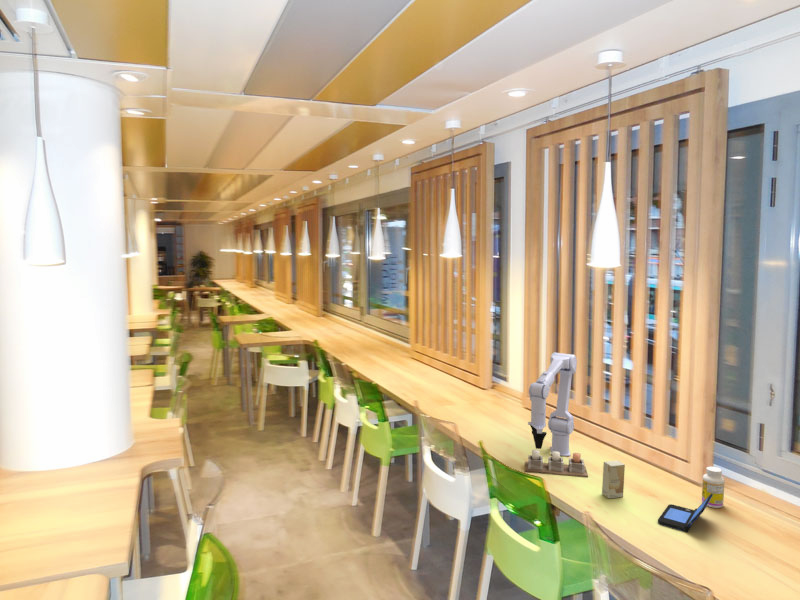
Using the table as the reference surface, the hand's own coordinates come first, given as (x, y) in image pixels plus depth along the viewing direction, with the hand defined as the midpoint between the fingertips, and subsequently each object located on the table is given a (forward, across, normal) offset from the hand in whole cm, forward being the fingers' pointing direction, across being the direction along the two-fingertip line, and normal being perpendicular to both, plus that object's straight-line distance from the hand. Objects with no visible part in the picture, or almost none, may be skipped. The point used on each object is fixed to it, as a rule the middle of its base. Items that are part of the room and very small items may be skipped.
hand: (537, 445), depth 226 cm
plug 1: (+6, -1, -1) cm, 6 cm away
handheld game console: (+10, +37, +44) cm, 59 cm away
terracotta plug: (+6, 0, +15) cm, 16 cm away
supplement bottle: (+10, +23, +58) cm, 63 cm away
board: (+10, 0, +7) cm, 12 cm away
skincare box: (+10, +21, +25) cm, 34 cm away
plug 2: (+6, 0, +7) cm, 10 cm away
